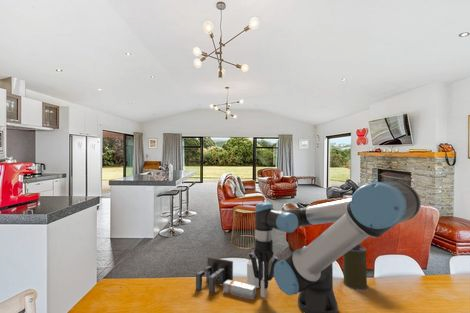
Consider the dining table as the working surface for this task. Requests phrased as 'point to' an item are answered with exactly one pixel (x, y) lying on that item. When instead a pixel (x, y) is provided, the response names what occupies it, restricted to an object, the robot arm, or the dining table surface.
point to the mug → (252, 274)
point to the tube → (239, 289)
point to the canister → (355, 268)
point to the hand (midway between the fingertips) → (263, 295)
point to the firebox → (215, 273)
